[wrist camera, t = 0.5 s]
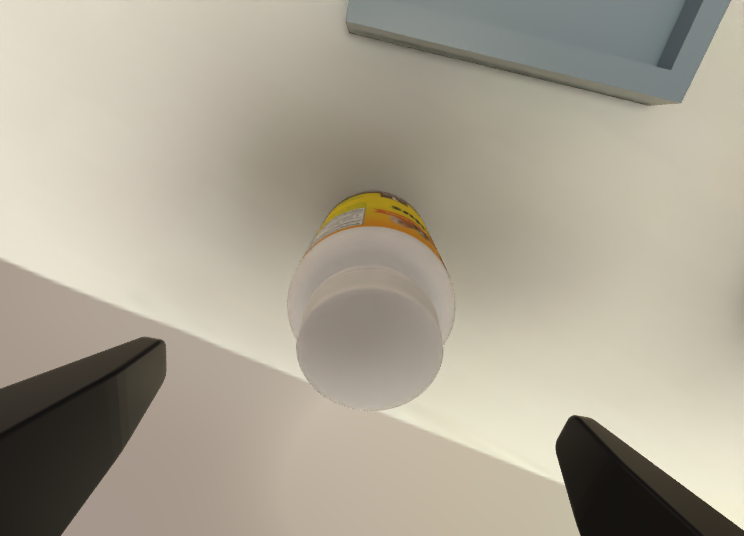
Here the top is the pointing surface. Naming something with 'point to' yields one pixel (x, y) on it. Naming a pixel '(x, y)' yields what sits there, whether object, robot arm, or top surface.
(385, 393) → the supplement bottle
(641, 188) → the top surface
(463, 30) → the tray
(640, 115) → the top surface
